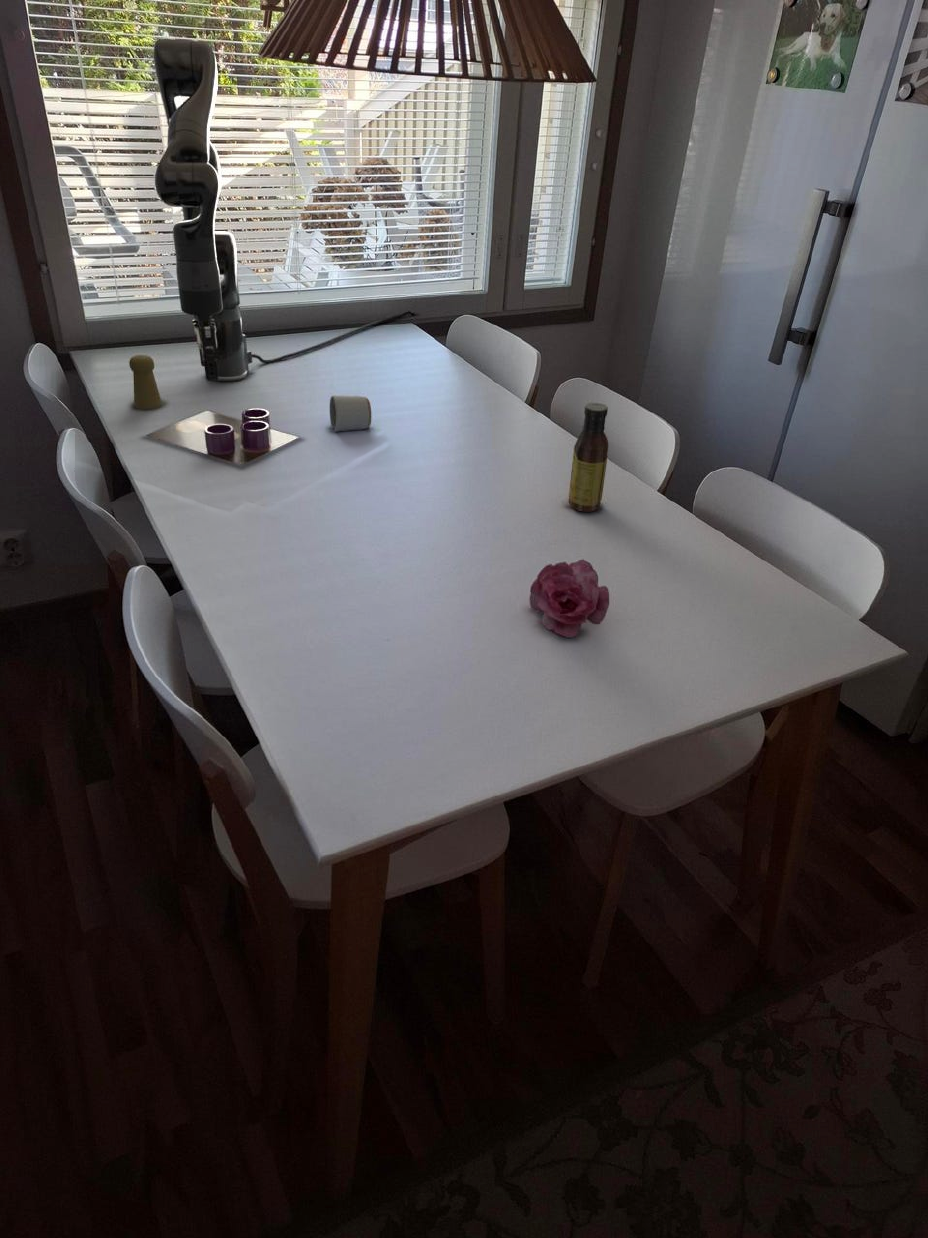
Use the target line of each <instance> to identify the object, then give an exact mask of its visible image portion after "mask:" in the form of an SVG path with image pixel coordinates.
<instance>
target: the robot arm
mask: <svg viewBox="0 0 928 1238" xmlns="http://www.w3.org/2000/svg"><path fill="white" fill-rule="evenodd" d="M153 64H154V71H155V77H156V79H157V85H158V89H159V93H160V97H161V101H162V106H163V110H164V114H165V119H166V123H167V144H166V148H165V150H164V152H163V154H162V156H161V158H160V159H159V162H158V163H157V165H156V166H157V167H156V170H155V174H154V187H155V191H156V195H157V196H158V197H159V199H160V200H161V202H163V204H166V206H169V207H174V208H181V209H182V216H183V220H182V221H179V222H176V223H175V224H174V225H173V228H172V236H173V245H174V252H175V263H176V264H175V265H176V266H175V267H176V268H175V269H176V271H175V272H176V280H177V281H176V282H177V287H178V295H179V304H180V310H181V311H182V313H184V314H186V315H190V316H193V319H192V321H191V324H192V328H193V333H194V334H193V335H194V339H195V340H196V344H197V347H198V351H199V358H200V364H201V366H202V367H204V375H205V379H206V380H207V381H219V382H232V381H239V380H243V379H245V378H246V377H247V376H248V375H249V374H250V368H249V367H250V366H249V364H253V358H255V359H257V360H258V361H259V362H261V363H263V364H273V363H277V362H280V361H282V360H285V359H289V358H292V357H296V356H298V355H302V354H304V353H307V352H311V351H314V350H315V349H318V348H321V347H324V346H326V345H328V344H331V343H333V342H336V341H338V340H341V339H343V338H345V337H347V336H350V335H352V334H356V333H357V332H359V331H362V330H364V329H365V330H366V329H368V328H371V327H373V326H376V325H379V324H382V323H385V322H389V321H393V320H396V319H400V318H403V317H405V316H407V315H411V316H413V317H415V316H416V313H414V312H413V313H411V312H410V311H411V310H408V312H407V311H405V312H403V313H401V314H398V315H393V316H390V317H386V318H382V319H379V320H377V321H373V322H371V323H367V324H365V325H363V326H360V327H358V328H357V327H356V328H354V329H352V330H350V331H347V332H344V333H343V334H340V335H338V336H335V337H333V338H330V339H328V340H326V341H323V342H321V343H318V344H315V345H312V346H310V347H307V348H304V349H301V350H298V351H295V352H292V353H287V354H284V355H281V356H278V357H276V358H274V359H264V358H263V357H261V355H259V354H257V353H256V354H255V353H252V351H251V350H248V347H247V345H248V344H247V335H245V334H244V333H243V332H244V331H243V321H242V320H243V319H242V312H241V311H242V310H241V301H240V300H241V299H240V292H239V291H240V289H239V280H238V278H239V277H238V255H237V254H238V251H237V245H236V240H235V237H234V235H233V234H232V233H231V232H229V231H215V221H216V211H217V207H218V206H217V205H218V201H219V195H220V193H221V190H222V183H223V182H222V173H221V165H220V157H219V154H218V151H217V150H216V147H214V144H213V143H212V142H211V140H210V127H211V121H212V117H213V113H214V109H215V102H216V98H217V93H218V85H219V84H218V83H219V82H218V77H219V76H218V66H217V59H216V55H215V52H214V49H213V46H211V44H209V43H208V42H206V41H202V40H196V39H185V38H184V39H183V38H171V37H169V38H168V37H165V38H159V39H157V40H156V41H155V43H154V47H153ZM182 98H186V99H185V101H183V100H182ZM221 275H222V276H223V279H221Z"/></svg>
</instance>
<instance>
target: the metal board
mask: <svg viewBox="0 0 928 1238" xmlns="http://www.w3.org/2000/svg"><path fill="white" fill-rule="evenodd" d="M213 424H227V425H230V426H232V427H233V428H234V437H235V451H234V452H232V453H229V454H225V455H215V454H211V453H209V452H208V451H207V448H206V441H205V433H204V429H205V428H206V427H207V426H209V425H213ZM241 424H242V419H241V420H240V419H237V418H233V417H231V416H228V415H227V416H226V415H223V414H219V413H216V412H212V411H210V410H205V411H203V412H201V413H197V414H196V415H193V416H190V417H188V418H185V419H183V420H180V421H178V422H176V423H172V424H170V425H168V426H165V427H163V428H160V429H159V430H155V431H153V432H150V433H148V434H146V435H145V436H146V437H150V438H153V439H156V440H158V441H159V440H160V441H161V442H162V441H163V442H166V443H169V444H172V445H174V446H178V447H181V448H186V449H188V450H191V451H195V452H198V453H201V454H204V455H207V456H210V457H214V458H217V459H220V460H223V461H226V462H230V463H233V464H236V465H239V466H243V465H246V464H248V463H249V462H252V461H254V460H256V459H258V458H260V457H262V456H265V455H266V454H269V453H270V452H273V451H274V450H276V449H279V448H280V447H282V446H284V445H287V444H289V443H291V442H293V441H295V440H298V439H299V438H300V437H299V436H297V435H293V434H288V433H285V432H282V431H279V430H275V429H272V428H271V430H270V431H271V433H270V447H269V448H268V449H266V450H263V451H248V450H245V449H244V448H243V447H242V440H241V430H240V426H241Z"/></svg>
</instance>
